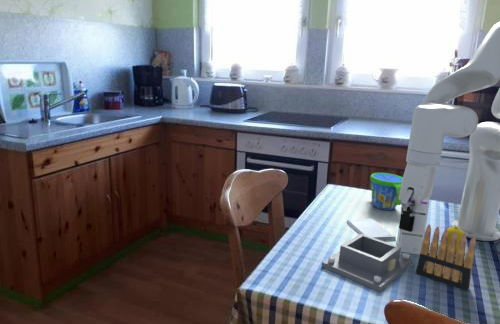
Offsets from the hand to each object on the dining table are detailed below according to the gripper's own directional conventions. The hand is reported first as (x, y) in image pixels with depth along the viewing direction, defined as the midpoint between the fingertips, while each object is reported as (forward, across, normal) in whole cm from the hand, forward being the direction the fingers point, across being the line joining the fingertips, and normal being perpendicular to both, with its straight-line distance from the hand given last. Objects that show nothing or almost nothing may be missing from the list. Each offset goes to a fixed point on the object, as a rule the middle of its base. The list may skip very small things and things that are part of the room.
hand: (412, 225), depth 103 cm
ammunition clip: (+7, +10, +11) cm, 17 cm away
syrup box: (+7, 0, 0) cm, 7 cm away
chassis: (+6, +16, -3) cm, 18 cm away
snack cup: (+7, -25, -18) cm, 32 cm away
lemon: (+7, -4, +9) cm, 12 cm away
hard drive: (+7, -3, -12) cm, 14 cm away
